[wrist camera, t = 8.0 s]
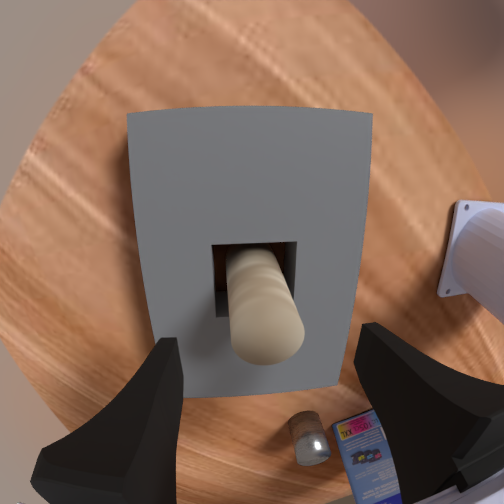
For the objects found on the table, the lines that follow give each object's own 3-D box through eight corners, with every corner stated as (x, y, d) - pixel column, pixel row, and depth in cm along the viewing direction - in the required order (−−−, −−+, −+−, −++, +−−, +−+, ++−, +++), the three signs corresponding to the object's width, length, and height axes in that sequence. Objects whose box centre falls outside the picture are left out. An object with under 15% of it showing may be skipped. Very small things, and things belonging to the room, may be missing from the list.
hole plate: (350, 113, 17) (372, 113, 14) (326, 359, 24) (337, 385, 21) (141, 114, 16) (126, 113, 13) (172, 369, 23) (168, 397, 20)
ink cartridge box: (326, 425, 28) (368, 549, 15) (377, 402, 28) (434, 520, 14) (344, 460, 32) (377, 557, 18) (385, 442, 31) (426, 535, 18)
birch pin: (275, 235, 20) (309, 306, 12) (272, 279, 21) (299, 363, 13) (225, 235, 19) (231, 308, 12) (225, 279, 20) (231, 366, 13)
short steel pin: (321, 408, 27) (334, 446, 22) (316, 426, 28) (328, 462, 24) (289, 413, 26) (299, 452, 22) (287, 431, 28) (295, 468, 23)
